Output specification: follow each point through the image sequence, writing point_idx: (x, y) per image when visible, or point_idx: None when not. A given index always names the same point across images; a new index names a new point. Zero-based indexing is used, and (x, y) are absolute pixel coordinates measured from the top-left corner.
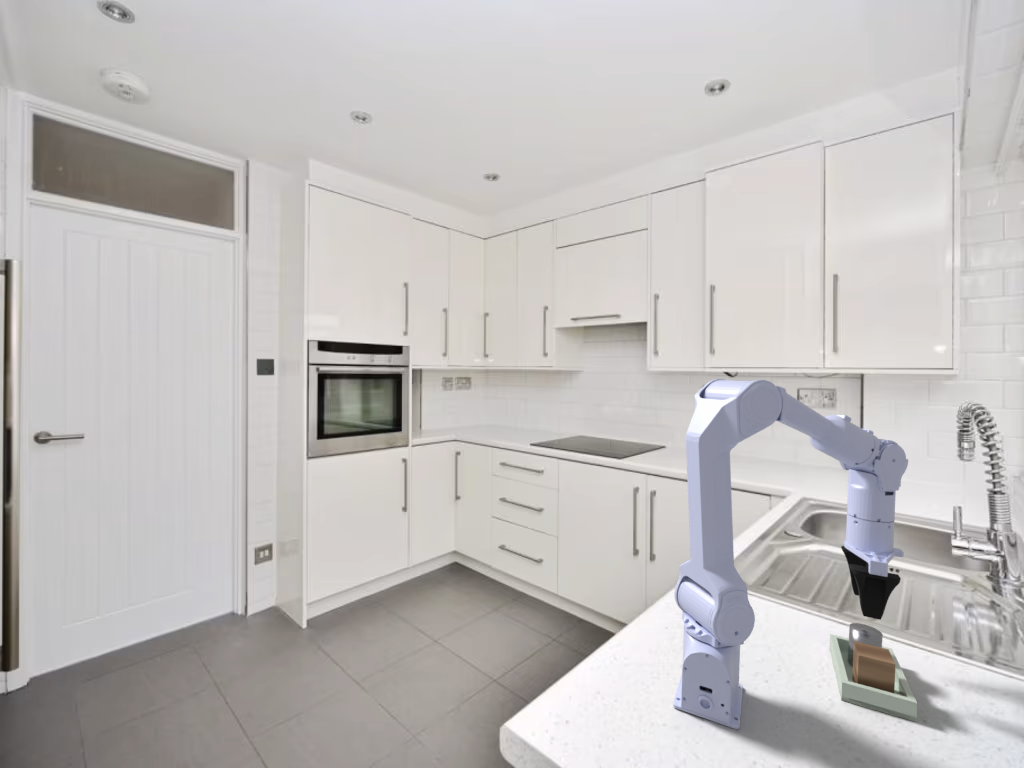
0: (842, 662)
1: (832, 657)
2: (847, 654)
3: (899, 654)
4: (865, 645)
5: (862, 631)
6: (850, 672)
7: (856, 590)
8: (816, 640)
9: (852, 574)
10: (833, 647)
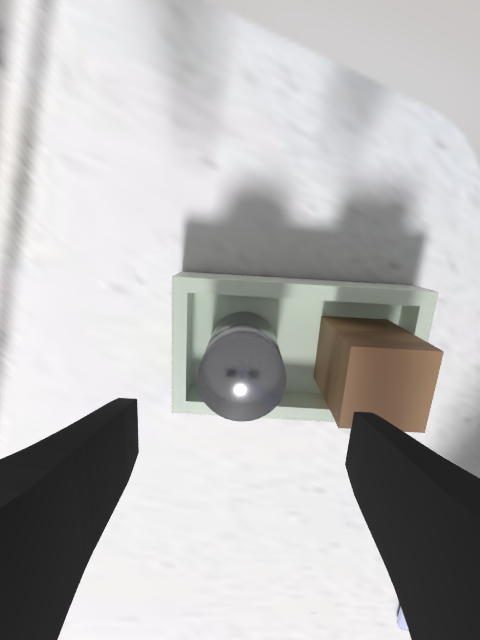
0: (317, 410)
1: None
2: None
3: (102, 233)
4: (355, 403)
5: (259, 392)
6: (288, 375)
7: (129, 461)
8: (145, 409)
9: (88, 547)
10: None
